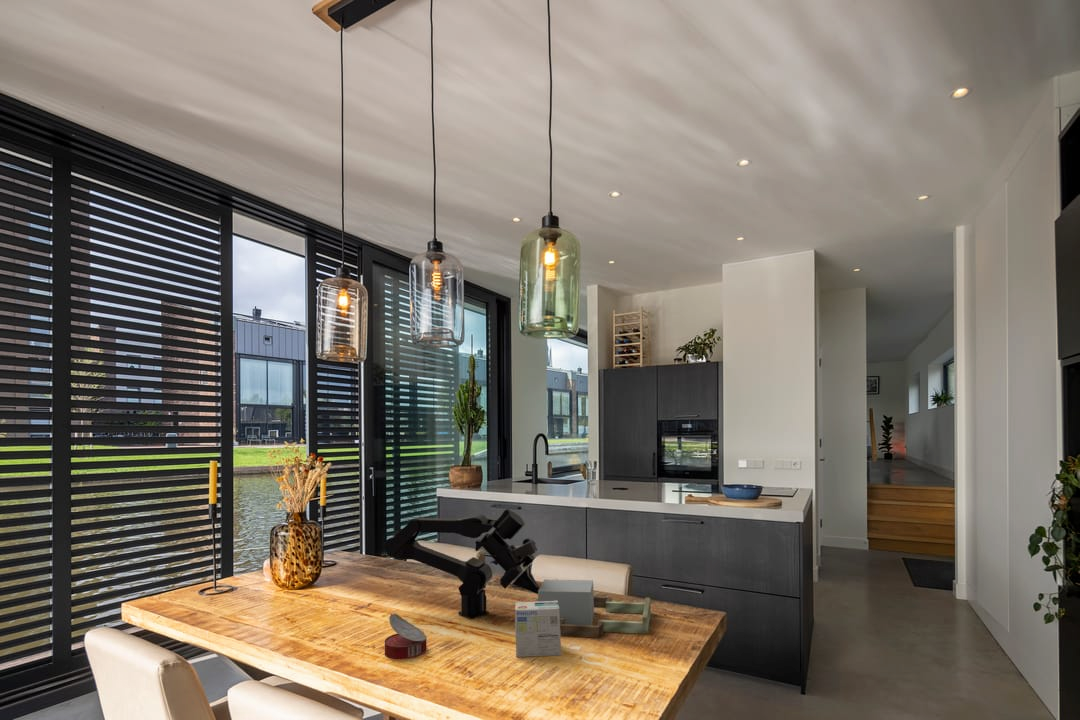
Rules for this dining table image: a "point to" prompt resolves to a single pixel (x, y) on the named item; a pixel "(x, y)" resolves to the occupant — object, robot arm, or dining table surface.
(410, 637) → the canned food
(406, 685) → the dining table surface
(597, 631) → the lane
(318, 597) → the dining table surface
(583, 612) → the block
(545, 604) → the light bulb box
